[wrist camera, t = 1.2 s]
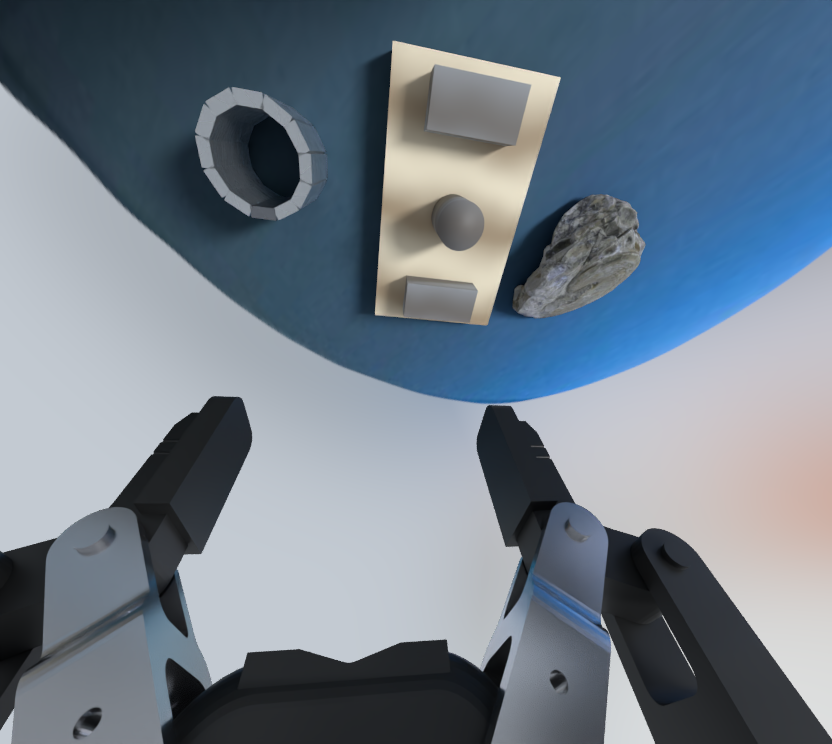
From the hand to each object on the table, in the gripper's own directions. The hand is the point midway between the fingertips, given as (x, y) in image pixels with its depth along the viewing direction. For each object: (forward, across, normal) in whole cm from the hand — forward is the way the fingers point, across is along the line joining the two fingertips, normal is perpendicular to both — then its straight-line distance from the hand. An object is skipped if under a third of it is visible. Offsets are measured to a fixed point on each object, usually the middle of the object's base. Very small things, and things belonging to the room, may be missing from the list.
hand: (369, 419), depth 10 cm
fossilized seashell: (+22, -18, -1) cm, 28 cm away
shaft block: (+21, -6, -4) cm, 22 cm away
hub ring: (+21, +8, -6) cm, 23 cm away
